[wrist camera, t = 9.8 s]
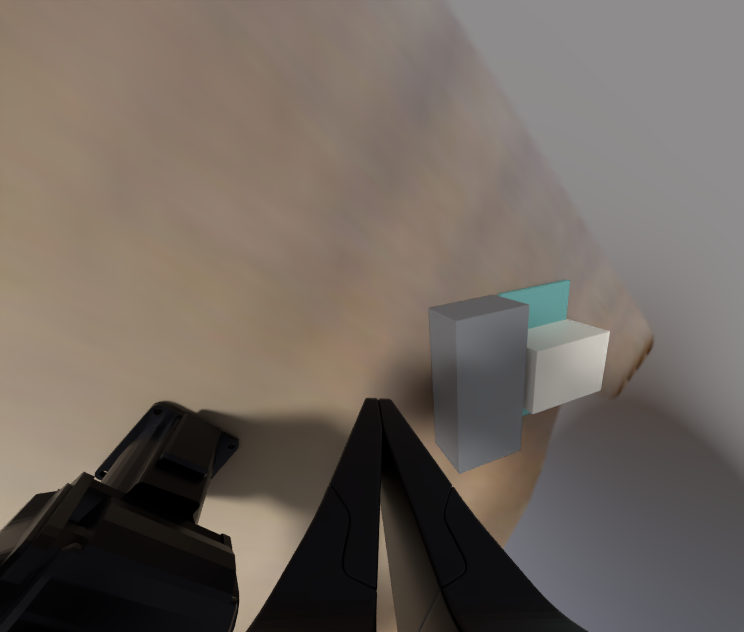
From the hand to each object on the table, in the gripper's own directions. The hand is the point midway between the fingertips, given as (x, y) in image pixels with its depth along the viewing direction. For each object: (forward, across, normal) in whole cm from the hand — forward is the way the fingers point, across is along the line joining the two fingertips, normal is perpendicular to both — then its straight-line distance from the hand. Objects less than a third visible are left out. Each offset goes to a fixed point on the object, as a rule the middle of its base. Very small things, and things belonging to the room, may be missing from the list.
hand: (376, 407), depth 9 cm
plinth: (+14, -10, +9) cm, 19 cm away
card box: (+12, -15, +8) cm, 21 cm away
